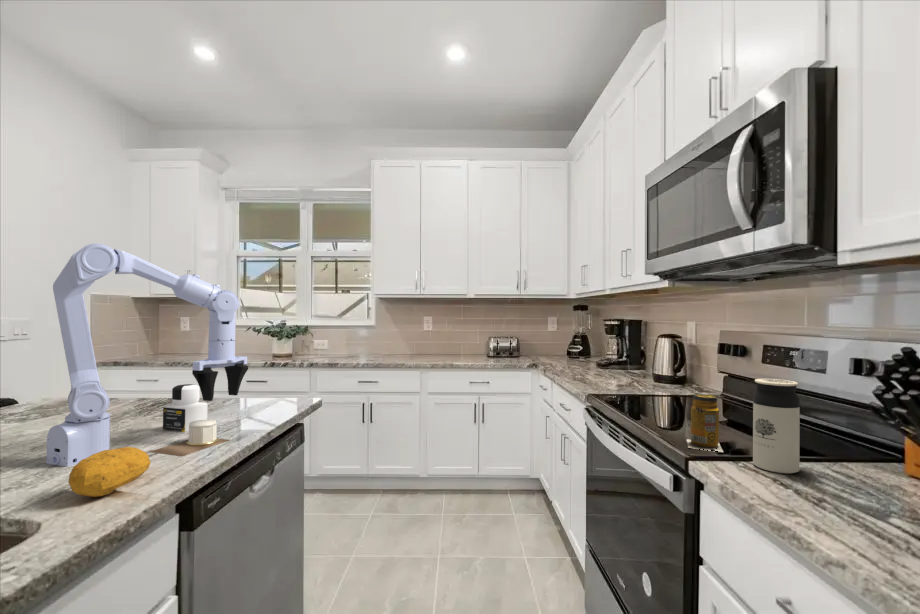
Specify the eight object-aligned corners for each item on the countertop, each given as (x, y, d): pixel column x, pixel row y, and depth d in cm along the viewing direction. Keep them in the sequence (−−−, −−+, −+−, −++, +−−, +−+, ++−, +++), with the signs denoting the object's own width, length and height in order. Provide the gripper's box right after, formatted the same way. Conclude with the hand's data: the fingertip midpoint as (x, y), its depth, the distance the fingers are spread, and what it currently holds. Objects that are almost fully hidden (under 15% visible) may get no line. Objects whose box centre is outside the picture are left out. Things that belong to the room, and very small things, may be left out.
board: (181, 462, 96) (182, 456, 96) (148, 457, 98) (148, 451, 98) (230, 445, 108) (230, 439, 108) (199, 441, 111) (200, 436, 111)
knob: (202, 447, 102) (202, 432, 102) (179, 444, 104) (179, 430, 104) (225, 439, 108) (225, 425, 108) (203, 437, 110) (203, 423, 110)
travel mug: (776, 461, 101) (777, 378, 101) (809, 473, 93) (809, 383, 94) (743, 462, 100) (744, 378, 100) (774, 475, 92) (774, 384, 92)
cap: (185, 440, 106) (185, 422, 106) (210, 435, 110) (211, 418, 110) (194, 445, 102) (194, 426, 102) (219, 440, 106) (220, 422, 106)
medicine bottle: (161, 434, 117) (162, 386, 117) (186, 427, 123) (187, 382, 124) (184, 436, 115) (185, 388, 115) (207, 430, 121) (208, 383, 122)
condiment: (719, 443, 115) (719, 394, 115) (723, 453, 107) (723, 400, 107) (686, 440, 118) (686, 392, 118) (688, 449, 110) (688, 397, 110)
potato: (50, 505, 74) (51, 462, 74) (124, 475, 88) (125, 439, 88) (94, 508, 73) (95, 465, 73) (161, 478, 87) (162, 441, 87)
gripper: (210, 342, 103) (209, 404, 103) (257, 339, 117) (256, 393, 117) (185, 341, 105) (184, 402, 105) (234, 338, 119) (233, 392, 119)
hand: (220, 397), depth 111 cm, fingers open, 7 cm apart
